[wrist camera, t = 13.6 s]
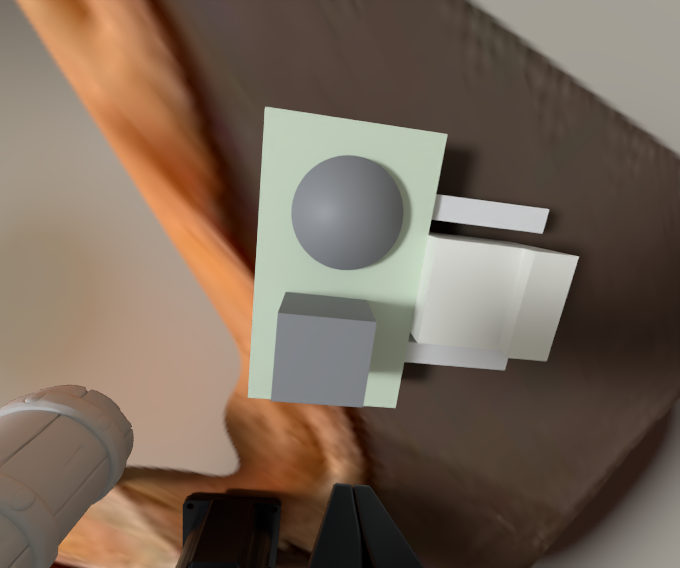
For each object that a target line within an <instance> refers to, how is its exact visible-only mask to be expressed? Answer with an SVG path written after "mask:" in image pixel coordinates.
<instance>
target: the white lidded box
mask: <svg viewBox="0 0 680 568" xmlns="http://www.w3.org/2000/svg"><path fill="white" fill-rule="evenodd" d="M578 259H579V256H575V255H570V254H565V253H561V252H556V251H551V250H547V249H542V248H538V247H533V246H528V245H524V244H519V243H514V242H509V241H501V240H493V239H485V238H477V237H468V236H460V235H452V234H444V233H436V232H429V234H428V240H427V245H426V250H425V255H424V261H423V266H422V271H421V276H420V282H419V287H418V292H417V298H416V303H415V308H414V313H413V319H412V324H411V329H410V333H411V334H412V335H413V337H414V338H415V340H416V341H417V343H424V344H435V345H446V346H457V347H469V348H480V349H491V350H498V351H499V352H500V353H501V354H502V355H504V356H505V357H506V358H514V359H526V360H537V361H547V359H548V355H549V352H550V349H551V346H552V343H553V339H554V336H555V333H556V330H557V326H558V323H559V320H560V317H561V313H562V310H563V307H564V304H565V301H566V297H567V294H568V291H569V288H570V284H571V281H572V278H573V275H574V272H575V268H576V265H577V262H578Z"/></svg>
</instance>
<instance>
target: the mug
mask: <svg viewBox="0 0 680 568" xmlns="http://www.w3.org/2000/svg"><path fill="white" fill-rule="evenodd" d="M131 427H132V426H131V424H130V422H129V421H128V420H127V419H126V417H125V416H124V414H123V413H122V412H121V411H120V408H119V407H118V406H117V405H116V404H115V403H114V402H113V401H112V400H111V399H110V398H108V397H107V396H105V395H103V394H102V393H100V392H98V391H95V390H90V391H89V392H87V390H86V388H85V387H82V386H77V385H63V386H55V387H51V388H46V389H42V390H39V391H37V392H34V393H32V394H28V395H25V396H22V397H19V398H17V399H15V400H13V401H11V402H9V403H7V404H6V405H4V406H3V407H1V408H0V568H49V567H50V566H51V565H52V564H53V562H54V561H55V559H56V557H57V555H58V546H59V544H60V543H61V542H62V541H63V539H64V538H65V537H66V536H67V534H68V533H69V532H70V531H71V530H72V528H73V527H74V526H75V525H76V523H77V522H78V521H79V520H80V518H81V517H82V516H83V515H84V513H85V512H86V511H87V510H88V508H89V507H90V506H91V505H92V504H94V503H96V502H98V501H99V500H101V499H102V498H103V497H104V496H106V495H107V494H108V493H109V492H110V491H111V490H112V489H113V487H114V486H115V484H116V483H117V482H118V481H119V479H120V478H121V477H122V475H123V472H124V469H125V466H126V461H127V459H128V457H129V455H130V453H131V451H132V447H133V431H132V429H130V428H131Z"/></svg>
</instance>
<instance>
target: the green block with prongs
mask: <svg viewBox="0 0 680 568" xmlns="http://www.w3.org/2000/svg"><path fill="white" fill-rule="evenodd" d="M446 140H447V134H442V133H436V132H429V131H423V130H416V129H409V128H403V127H396V126H390V125H383V124H376V123H370V122H363V121H357V120H350V119H343V118H337V117H330V116H324V115H317V114H310V113H304V112H297V111H291V110H284V109H277V108H271V107H265V117H264V133H263V150H262V167H261V184H260V201H259V218H258V235H257V251H256V268H255V285H254V302H253V319H252V336H251V353H250V369H249V386H248V398H261V399H271V401H278V402H292V403H306V404H321V405H335V406H350V407H363V406H375V407H389V408H396V403H397V397H398V392H399V387H400V382H401V376H402V371H403V366H404V362H411V363H423V364H435V365H447V366H459V367H471V368H483V369H495V370H505V368H506V364H507V361H508V358H506V357H505V356H504V355H502V354H501V353H500V352H499V351H498V350H491V349H480V348H469V347H457V346H446V345H435V344H424V343H417V341H416V340H415V338H414V337H413V335H412V334H411V333H410V329H411V324H412V319H413V313H414V308H415V303H416V298H417V292H418V287H419V282H420V276H421V271H422V266H423V261H424V255H425V250H426V245H427V240H428V234H429V229H430V224H431V220H439V221H447V222H455V223H463V224H471V225H478V226H486V227H494V228H502V229H510V230H518V231H526V232H534V233H542V234H543V231H544V227H545V224H546V220H547V216H548V213H549V209H543V208H536V207H528V206H521V205H513V204H506V203H498V202H491V201H483V200H476V199H468V198H461V197H453V196H446V195H438V194H436V192H437V187H438V182H439V177H440V171H441V166H442V161H443V156H444V150H445V145H446Z"/></svg>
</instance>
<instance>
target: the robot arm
mask: <svg viewBox="0 0 680 568" xmlns="http://www.w3.org/2000/svg"><path fill="white" fill-rule="evenodd" d="M281 507H282V503H281V501H280V500H278V499H274V498H250V497H227V496H203V495H190V496H188V497H187V498H186V499H185V502H184V504H183V550H182V553H181V555H180V558H179V560H178V563H177V565H176V568H275V567H276V558H277V547H278V537H279V527H280V517H281ZM307 568H424V566H423V565H422V563H421V562H420V560H419V559H418V557H417V556H416V554H415V553H414V551H413V550H412V548H411V547H410V545H409V544H408V542H407V541H406V539H405V538H404V536H403V535H402V533H401V532H400V530H399V529H398V527H397V526H396V524H395V523H394V521H393V520H392V518H391V516H390V515H389V513H388V512H387V510H386V509H385V507H384V506H383V504H382V503H381V501H380V500H379V498H378V497H377V495H376V494H375V492H374V491H373V489H372V488H371V487H370V486H368V485H353V486H351V485H350V484H339V483H336V484H334V485H333V488H332V491H331V494H330V497H329V501H328V504H327V507H326V510H325V513H324V516H323V519H322V522H321V525H320V528H319V532H318V535H317V538H316V541H315V544H314V547H313V550H312V553H311V556H310V560H309V563H308V566H307Z"/></svg>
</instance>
